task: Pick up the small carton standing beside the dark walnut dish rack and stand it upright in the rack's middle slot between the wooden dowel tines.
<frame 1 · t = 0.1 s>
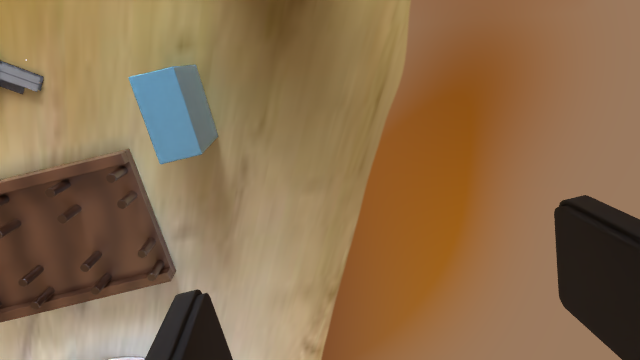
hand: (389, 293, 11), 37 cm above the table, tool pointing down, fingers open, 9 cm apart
carton: (190, 105, 44), on the table
rack: (63, 234, 48), on the table
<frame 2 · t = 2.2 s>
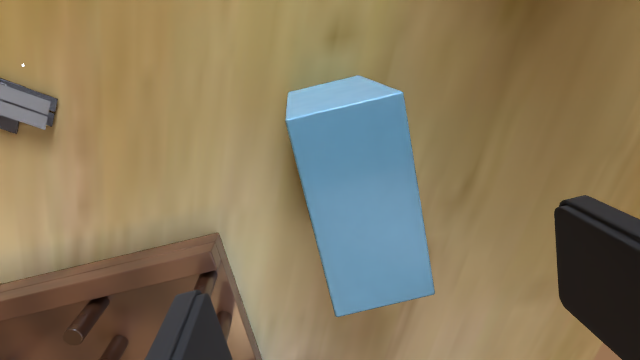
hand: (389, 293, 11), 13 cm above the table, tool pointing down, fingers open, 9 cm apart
carton: (338, 153, 23), on the table
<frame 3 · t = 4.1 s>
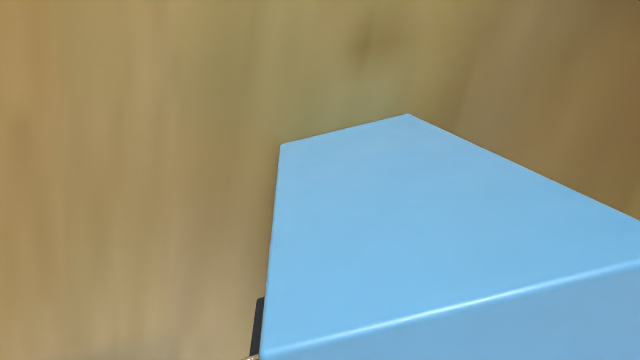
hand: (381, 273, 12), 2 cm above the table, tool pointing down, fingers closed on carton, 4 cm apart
carton: (369, 245, 13), on the table, touching gripper
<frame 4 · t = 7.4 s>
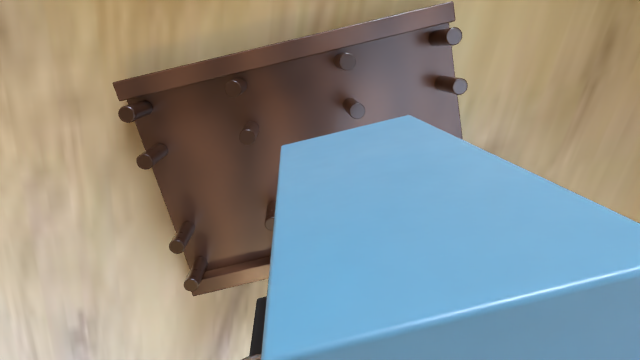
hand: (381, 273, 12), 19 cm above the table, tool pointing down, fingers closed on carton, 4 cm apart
carton: (370, 247, 13), point 17 cm above the table, touching gripper
rack: (310, 153, 30), on the table
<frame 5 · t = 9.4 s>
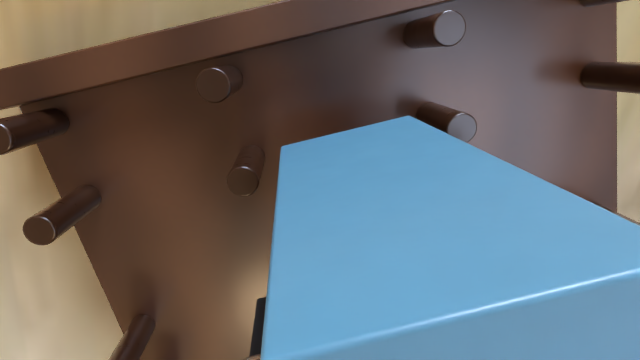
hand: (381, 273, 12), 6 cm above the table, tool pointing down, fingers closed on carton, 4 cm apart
carton: (369, 247, 13), point 5 cm above the table, touching gripper
rack: (351, 196, 18), on the table
when the fingers open (3 cm above the table, at t = 10.8 s): carton stays where it is, resting on rack.
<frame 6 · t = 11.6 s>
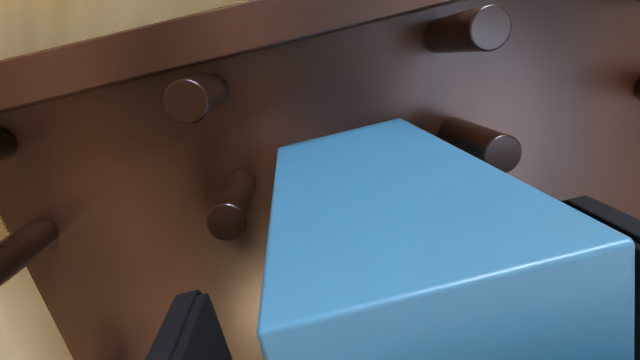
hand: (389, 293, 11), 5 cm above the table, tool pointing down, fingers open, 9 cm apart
carton: (363, 244, 14), point 1 cm above the table, touching rack
rack: (358, 227, 15), on the table
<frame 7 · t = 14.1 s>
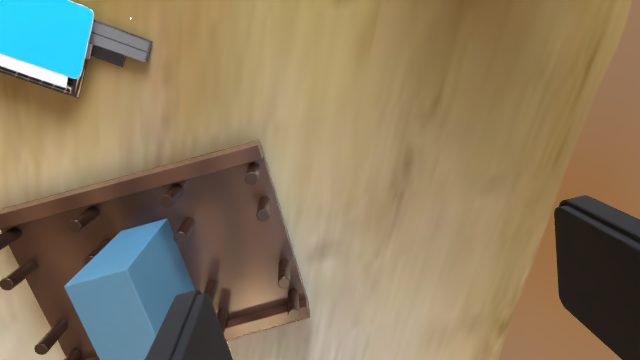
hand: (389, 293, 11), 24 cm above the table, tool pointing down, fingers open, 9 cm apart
carton: (161, 266, 34), point 1 cm above the table, touching rack
rack: (165, 258, 36), on the table
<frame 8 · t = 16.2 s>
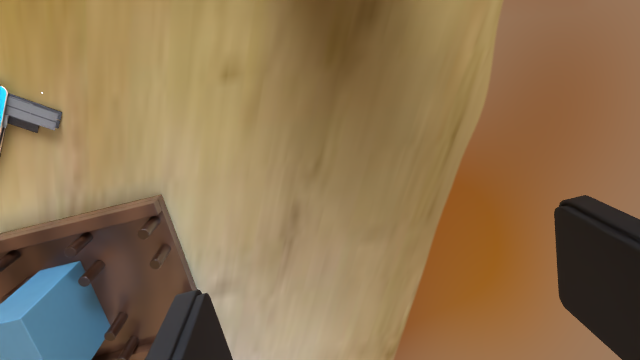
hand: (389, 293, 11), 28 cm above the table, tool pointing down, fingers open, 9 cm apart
carton: (77, 300, 40), point 1 cm above the table, touching rack
rack: (83, 292, 41), on the table
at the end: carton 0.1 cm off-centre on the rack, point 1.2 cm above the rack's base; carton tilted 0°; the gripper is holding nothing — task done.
